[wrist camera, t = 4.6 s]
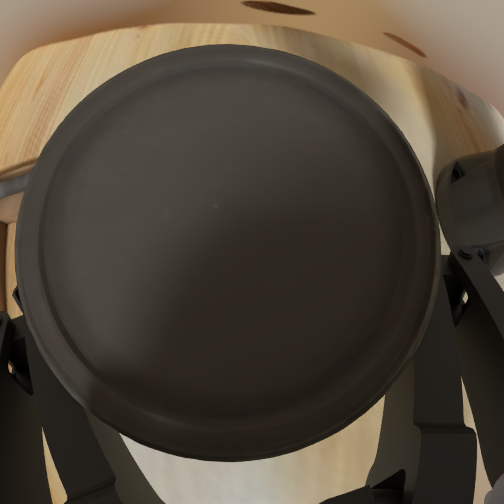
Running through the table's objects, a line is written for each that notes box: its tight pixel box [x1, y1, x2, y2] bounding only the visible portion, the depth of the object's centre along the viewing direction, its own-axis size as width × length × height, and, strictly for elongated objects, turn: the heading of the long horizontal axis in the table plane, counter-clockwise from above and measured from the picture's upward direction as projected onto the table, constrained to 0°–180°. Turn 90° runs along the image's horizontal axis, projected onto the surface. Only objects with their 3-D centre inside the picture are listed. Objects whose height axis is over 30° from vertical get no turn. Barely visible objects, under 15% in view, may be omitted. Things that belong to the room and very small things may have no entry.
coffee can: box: [15, 44, 441, 462], centre depth 12 cm, size 10×10×14 cm
